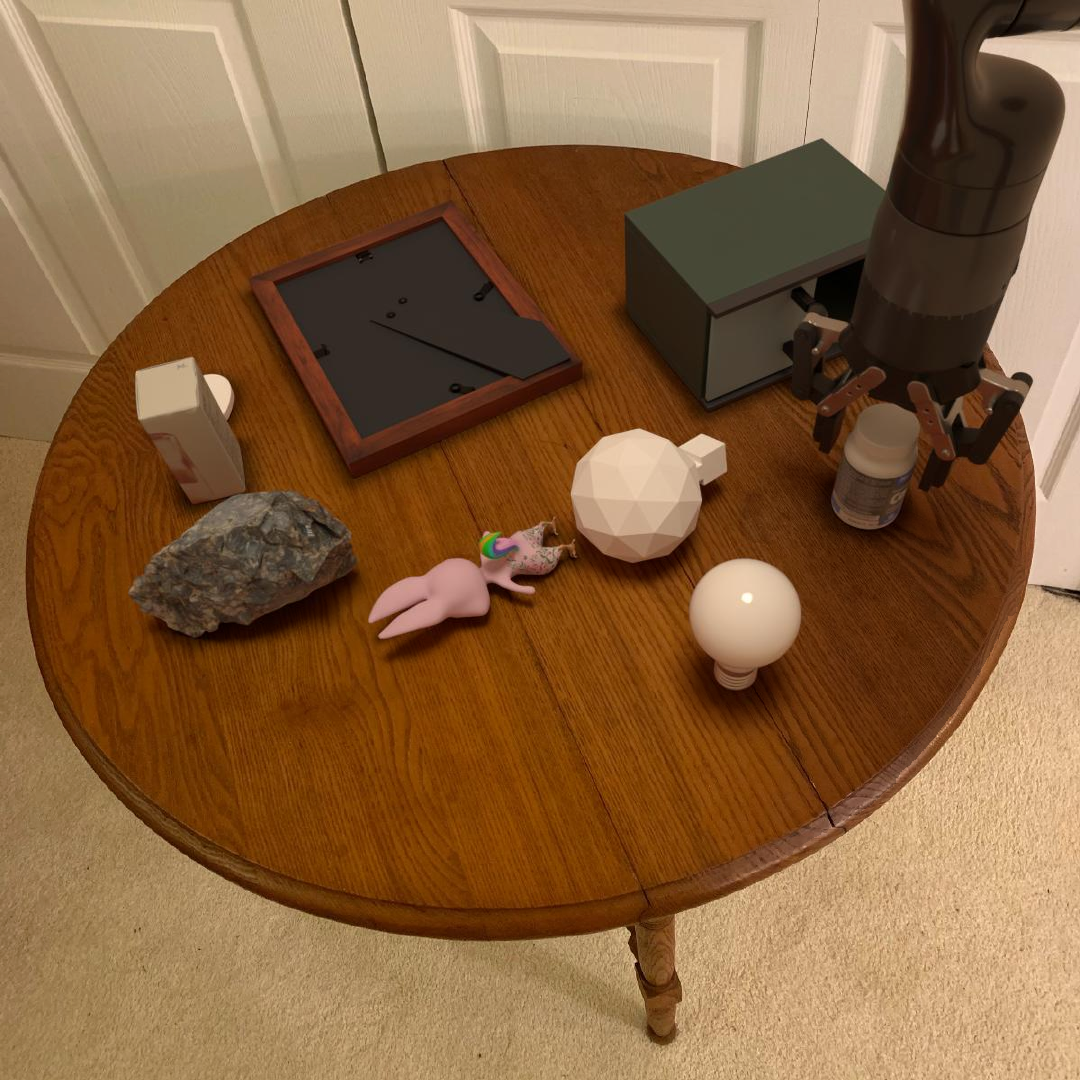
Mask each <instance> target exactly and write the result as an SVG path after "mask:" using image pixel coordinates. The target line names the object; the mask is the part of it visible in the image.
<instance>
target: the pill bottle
mask: <svg viewBox="0 0 1080 1080" xmlns="http://www.w3.org/2000/svg"><path fill="white" fill-rule="evenodd" d="M920 424H921V423H920V420H918V418H917V416H916V415H915V413H913V412H910V411H907V410H905V409H903V408H901V407H899V406H898V405H896V404H894V403H890V402H885V403H876V404H872V405H870V406H867V407H866V408H865V409H863V410H861V412H860V413H859V414H858V416H857V418H856V421H855V425H854V428H853V430H852V431H850V433H848V436H847V437H846V439H845V441H844V442H845V443H844V445H843V450H842V453H841V457H840V461H839V465H838V469H837V473H836V477H835V480H834V485H833V489H832V493H831V498H830V499H831V506H832V509H833V511H834V513H835V514H836V516H837V517H838V518H839V519H840V520H841V521H843V522H844V523H845V524H847V525H849V526H851V527H854V528H856V529H863V530H877V529H881V528H884V527H886V526H889V524H891V523H892V522H894V520H895V519H896V518H897V516H898V515H899V512H900V510H901V507H902V504H903V502H904V499H905V495H906V493H907V491H908V488H909V485H910V481H911V479H912V475H913V473H914V471H915V468H916V464H917V462H918V457H919V447H918V444H919V443H918V442H919V438H920V434H921V425H920Z"/></svg>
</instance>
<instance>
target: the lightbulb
mask: <svg viewBox="0 0 1080 1080" xmlns="http://www.w3.org/2000/svg"><path fill="white" fill-rule="evenodd" d="M688 619H689V625H690V628H691V632H692V635H693V637H694V638H695V641H696V642H697V644H698V646H699V647H700V648H701V650H703V651H704V653H705V654H706V655H708V656H709V657H710V658H711V659H713V660H714V664H713V674H714V678H715V680H716V681H717V683H718V684H719V685H720V686H721V687H723V688H725V689H727V690H730V691H734V692H735V691H737V692H738V691H739V692H740V691H744V690H746V689H748V688H750V687H751V686H752V685H753V684H754V683H755V681H756V679H757V675H758V670H759V668H762V667H765V666H768V665H771V664H773V663H774V662H776V661H777V660H779V659H780V658H781V657H783V656H784V655H785V654H786V653H787V652H788V651H789V649H791V647H792V646H793V645H794V643H795V641H796V639H797V637H798V635H799V632H800V629H801V625H802V604H801V599H800V597H799V594H798V591H797V590H796V588H795V586H794V584H793V583H792V581H791V580H790V579H789V578H788V577H787V576H786V575H785V573H783V572H782V571H781V570H780V569H779V568H777V567H776V566H774V565H772V564H770V563H769V562H765V561H763V560H759V559H756V558H755V559H754V558H749V557H748V558H744V557H743V558H742V557H741V558H734V559H729V560H726V561H723V562H721V563H719V564H717V565H715V566H714V567H711V568H710V569H709V570H708V571H707V572H706V573H705V574H704V575H702V577H701V578H700V580H699V581H698V582H697V584H696V585H695V587H694V589H693V591H692V593H691V597H690V600H689V606H688Z"/></svg>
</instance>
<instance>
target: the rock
mask: <svg viewBox="0 0 1080 1080" xmlns="http://www.w3.org/2000/svg"><path fill="white" fill-rule="evenodd" d="M352 538H353V534H352V531H350V529H349V528H348V527H347V526H346V525H345V523H344V522H343V521H341V520H340V519H338V518H337V517H336V516H335V515H333V514H332V513H331V512H330V511H329V509H327V508H326V507H325V506H323V505H322V504H320V502H319V501H318V500H317V499H313V498H309V497H306V496H304V495H303V494H302V493H300V492H298V491H295V490H292V489H289V490H286V491H283V490H279V489H277V490H271V491H270V490H269V491H256V492H250V493H239V494H235V495H232V496H229V498H228V497H227V498H226V499H225V500H223V502H220V503H218V504H217V505H216V506H214V507H213V508H212V509H211V510H209V511H207V513H205V514H204V515H203V516H201V517H200V518H199V519H198V520H196V521H195V522H194V524H193V526H191V527H188V529H186V530H185V531H183V532H182V534H181V535H180V536H179V537H178V538H176V539H175V540H173V541H172V542H170V543H169V544H167V545H166V546H164V547H162V548H161V550H159V551H157V552H156V553H154V554H153V555H152V556H151V557H150V561H149V563H148V564H146V565H145V566H144V568H143V574H141V575H140V576H137V577H135V579H134V580H133V583H132V584H133V585H132V586H131V587H130V589H129V591H128V592H127V594H128V595H129V597H130V599H131V600H132V601H133V602H135V603H136V604H138V605H139V606H140V607H139V610H140V611H141V612H142V613H144V614H145V615H149V616H154V617H156V618H159V619H160V620H162V621H164V622H166V625H167V627H168V628H170V629H172V630H174V631H178V632H180V633H183V634H185V635H187V636H190V637H192V638H193V639H196V638H198V637H201V636H203V634H204V633H205V632H208V633H212V632H215V631H217V630H218V629H219V626H220V624H221V623H224V624H227V623H236V624H238V625H243V626H244V625H245V626H249V625H251V624H252V623H253V622H254V621H255V620H257V619H258V618H260V617H262V616H264V615H265V614H270V613H272V612H274V611H277V610H279V609H282V608H283V607H285V606H287V605H288V604H294V603H295V602H296V603H297V602H298V601H301V600H303V599H305V598H307V597H308V596H309V595H310V594H311V593H312V592H314V591H316V590H317V589H320V588H323V587H325V586H327V585H328V584H330V583H333V582H335V581H336V580H337V579H340V578H342V577H344V576H347V575H348V574H349V573H350V572H351V571H352V570H353V569H354V568H355V567H356V565H357V560H358V559H357V556H355V555H354V554H353V544H352V543H350V542H351V540H352Z"/></svg>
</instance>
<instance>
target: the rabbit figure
mask: <svg viewBox="0 0 1080 1080" xmlns="http://www.w3.org/2000/svg"><path fill="white" fill-rule="evenodd" d="M556 518H557V516H556V515H555V516H554V517H553V518H552V520H551V521H545V520H542V521H540V522H539V523H538V524H537V525H535V526H533V527H530V528H528V529H524V530H517V531H516V532H514V533H513V534H512V535H511V536H510V537H499V536H500V535H501V534H502V531H495V532H491V531H489V530H485V531H484V532H483V534H482V537H481V538H480V540H479V542H478V551H479V553H480V554H479V556H480V562H481V566H480V567H479V566H477V564H475V563H474V562H472V561H471V560H468V559H466V558H460V557H456V558H447V559H445V560H444V561H442V562H441V563H439V564H437V565H436V566H434V567H432V568H431V569H430V570H429V571H428V572H426V573H425V574H424V575H422V576H408V577H405V578H403V579H401V580H398V581H397V582H395V583H394V584H392V585H390V586H388V587H387V588H386V589H385V590H384V591H383V592H382V593H381V594H380V595H379V597H378V598H377V600H376V601H375V603H374V605H373V607H372V608H371V611H370V613H369V616H368V621H367V622H368V623H369V624H374V623H376V622H377V621H379V620H382V619H385V618H387V617H389V616H392V615H394V614H396V613H398V612H400V611H403V610H405V609H408V608H409V609H408V610H406V611H404V612H402V613H401V614H399V615H398V616H397V617H395V618H394V619H393V620H392V621H391V622H389V624H388V625H387V626H386V627H385V628H384V629H383V630H382V631H381V632H380V633H379V634H378V636H377V637H378V638H379V639H380V640H381V639H383V640H386V639H391V638H394V637H396V636H397V637H398V636H400V635H403V634H407V633H411V632H413V631H416V630H417V631H418V630H421V629H425V628H429V627H432V626H435V625H438V624H440V623H442V622H444V620H446V619H448V618H455V619H456V618H457V619H458V618H469V617H472V618H473V617H481V616H485V615H486V614H487V613H488V612H489V609H490V606H491V598H490V597H491V596H490V593H489V590H488V586H487V585H488V584H496V585H498V586H500V587H502V588H504V589H507V590H508V591H511V592H515V593H519V594H523V595H524V594H525V595H534V594H535V593H536V588H535V587H534V586H532V585H521V584H520V585H519V584H517V583H515V582H514V581H513V580H511V579H512V578H514V577H515V576H516V575H532V576H533V575H534V576H542V575H546V574H549V573H550V572H552V571H553V570H554V569H555V568H556V567H557V564H558V563H559V560H560V558H561V555H562V553H563V552H564V550H565V549H567V550H568V551H569V556H570V557H571V558H577V557H578V555H576V543H574V542H575V541H576V538H574V539H573V540H572V541H571V543H570V544H559V545H558V546H544V532H545V529H546V528H547V527H548V528H549V529H550V533H551V534H555V535H556V536H559V533H558V532H557V521H556ZM410 607H411V608H410Z"/></svg>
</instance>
